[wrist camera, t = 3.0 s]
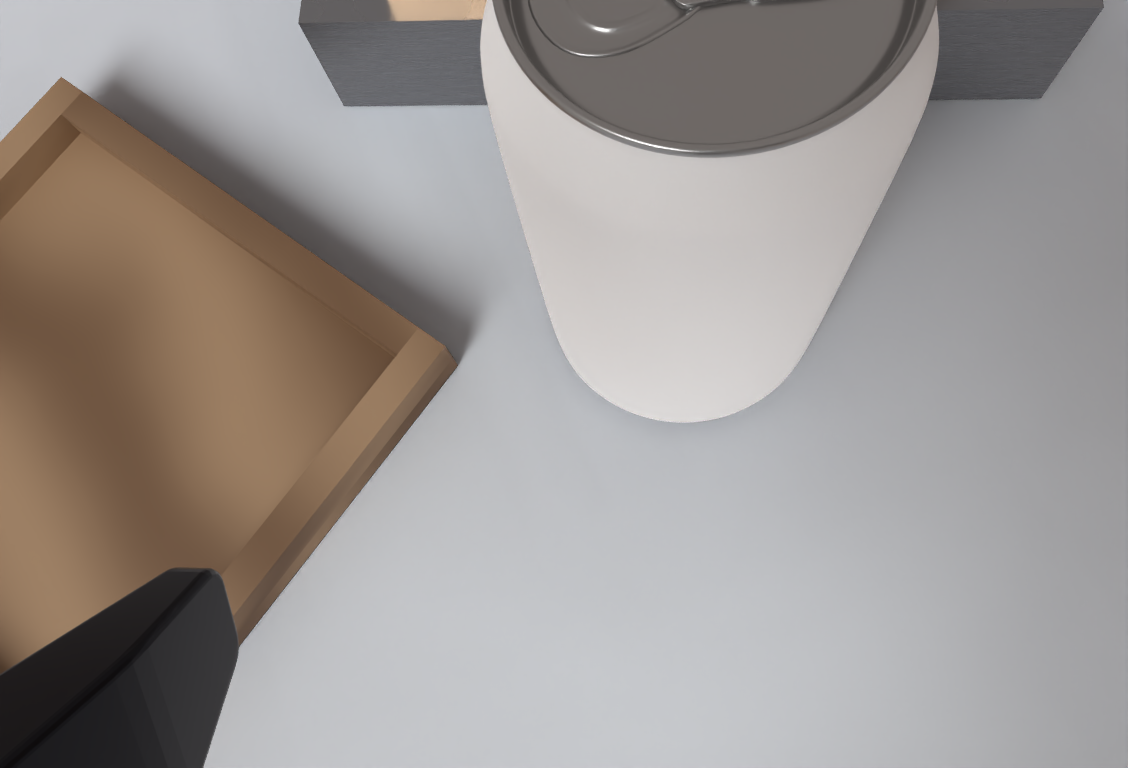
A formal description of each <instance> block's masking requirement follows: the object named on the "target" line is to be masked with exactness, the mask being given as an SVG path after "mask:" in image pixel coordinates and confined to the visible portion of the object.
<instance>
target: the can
mask: <svg viewBox="0 0 1128 768" xmlns="http://www.w3.org/2000/svg"><path fill="white" fill-rule="evenodd" d="M937 1H938V0H487V2H486V6H485V10H484V15H483V20H482V27H481V40H480V55H481V67H482V77H483V84H484V90H485V95H486V99H487V103H488V107H489V112H490V116H491V120H492V124H493V127H494V131H495V135H496V138H497V142H498V145H499V149H500V152H501V156H502V159H503V163H504V166H505V170H506V173H507V177H508V180H509V184H510V187H511V190H512V194H513V197H514V201H515V204H516V208H517V211H518V214H519V218H520V221H521V224H522V228H523V231H524V235H525V238H526V241H527V245H528V248H529V251H530V255H531V258H532V261H533V265H534V268H535V271H536V275H537V278H538V281H539V284H540V288H541V291H542V294H543V297H544V301H545V304H546V307H547V310H548V313H549V316H550V319H551V323H552V325H553V328H554V331H555V334H556V336H557V339H558V341H559V343H560V346H561V348H562V350H563V352H564V354H565V356H566V357H567V359H568V361H569V363H570V364H571V366H572V367H573V369H574V370H575V371H576V373H577V374H578V375H579V376H580V378H581V379H582V380H583V381H584V382H585V383H586V384H587V385H588V386H589V387H590V388H592V389H593V390H594V391H595V392H596V393H598V394H599V395H600V396H602V397H603V398H604V399H606V400H607V401H609V402H611V403H612V404H614V405H616V406H618V407H620V408H622V409H624V410H626V411H628V412H631V413H633V414H636V415H639V416H642V417H646V418H650V419H654V420H659V421H666V422H680V423H687V422H701V421H708V420H713V419H717V418H721V417H725V416H728V415H731V414H734V413H736V412H739V411H741V410H743V409H745V408H747V407H749V406H751V405H753V404H755V403H756V402H758V401H760V400H761V399H763V398H764V397H765V396H767V395H768V394H769V393H771V392H772V391H773V390H774V389H776V388H777V387H778V386H779V385H780V384H781V383H782V382H783V381H784V380H785V379H786V378H787V376H788V375H789V374H790V373H791V372H792V370H793V369H794V368H795V367H796V365H797V364H798V362H799V361H800V359H801V358H802V356H803V354H804V353H805V351H806V349H807V347H808V346H809V344H810V342H811V340H812V338H813V336H814V335H815V333H816V331H817V329H818V327H819V325H820V323H821V321H822V319H823V317H824V315H825V313H826V312H827V310H828V308H829V306H830V304H831V302H832V300H833V298H834V296H835V294H836V292H837V290H838V288H839V286H840V284H841V282H842V280H843V278H844V276H845V274H846V272H847V270H848V268H849V266H850V264H851V262H852V260H853V258H854V256H855V254H856V252H857V250H858V249H859V247H860V245H861V243H862V241H863V239H864V237H865V235H866V233H867V231H868V229H869V227H870V225H871V223H872V221H873V219H874V217H875V215H876V213H877V211H878V209H879V207H880V205H881V203H882V201H883V199H884V197H885V194H886V192H887V190H888V188H889V186H890V184H891V182H892V180H893V178H894V176H895V174H896V172H897V170H898V168H899V166H900V164H901V162H902V160H903V158H904V156H905V154H906V152H907V150H908V147H909V145H910V143H911V141H912V139H913V136H914V134H915V132H916V130H917V127H918V125H919V123H920V120H921V118H922V116H923V113H924V111H925V108H926V105H927V102H928V99H929V95H930V92H931V89H932V85H933V82H934V77H935V73H936V68H937V61H938V52H939V25H938V14H937V6H936V5H937Z"/></svg>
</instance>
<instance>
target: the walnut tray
mask: <svg viewBox="0 0 1128 768" xmlns="http://www.w3.org/2000/svg"><path fill="white" fill-rule="evenodd" d="M457 366H458V365H457V363H456V362H455V360H454V359H453V357H452V356H451V354H450V353H449V351H448V349H447V348H446V346H444V345H443V344H442V343H440V342H439V341H437V340H436V339H434V338H433V337H432V336H430V335H429V334H427V333H426V332H424V331H423V330H422V329H420V328H419V327H417V326H416V325H414V324H413V323H412V322H410V321H409V320H407V319H406V318H404V317H403V316H402V315H400V314H399V313H397V312H396V311H394V310H393V309H392V308H390V307H389V306H387V305H386V304H384V303H383V302H382V301H380V300H379V299H377V298H376V297H374V296H373V295H372V294H370V293H369V292H367V291H366V290H364V289H363V288H362V287H360V286H359V285H357V284H356V283H355V282H353V281H352V280H350V279H349V278H347V277H346V276H345V275H343V274H342V273H340V272H339V271H337V270H336V269H335V268H333V267H332V266H330V265H329V264H327V263H326V262H325V261H323V260H322V259H320V258H319V257H317V256H316V255H315V254H313V253H312V252H310V251H309V250H307V249H306V248H305V247H303V246H302V245H300V244H299V243H297V242H296V241H295V240H293V239H292V238H290V237H289V236H287V235H286V234H285V233H283V232H282V231H280V230H279V229H277V228H276V227H275V226H273V225H272V224H270V223H269V222H267V221H266V220H265V219H263V218H262V217H260V216H259V215H257V214H256V213H255V212H253V211H252V210H250V209H249V208H248V207H246V206H245V205H243V204H242V203H240V202H239V201H238V200H236V199H235V198H233V197H232V196H230V195H229V194H228V193H226V192H225V191H223V190H222V189H220V188H219V187H218V186H216V185H215V184H213V183H212V182H210V181H209V180H208V179H206V178H205V177H203V176H202V175H200V174H199V173H198V172H196V171H195V170H193V169H192V168H190V167H189V166H188V165H186V164H185V163H183V162H182V161H180V160H179V159H178V158H176V157H175V156H173V155H172V154H170V153H169V152H168V151H166V150H165V149H163V148H162V147H160V146H159V145H158V144H156V143H155V142H153V141H152V140H150V139H149V138H148V137H146V136H145V135H143V134H142V133H141V132H139V131H138V130H136V129H135V128H133V127H132V126H131V125H129V124H128V123H126V122H125V121H123V120H122V119H121V118H119V117H118V116H116V115H115V114H113V113H112V112H111V111H109V110H108V109H106V108H105V107H103V106H102V105H101V104H99V103H98V102H96V101H95V100H93V99H92V98H91V97H89V96H88V95H86V94H85V93H83V92H82V91H81V90H79V89H78V88H76V87H75V86H73V85H72V84H71V83H69V82H68V81H66V80H65V79H63V78H62V77H61V78H60V79H59V80H58V81H57V82H56V83H55V84H54V85H53V86H52V87H51V88H50V90H49V91H48V92H47V93H46V94H45V95H44V96H43V97H42V98H41V99H40V100H39V101H38V102H37V103H36V104H35V106H34V107H33V108H32V109H31V110H30V111H29V112H28V113H27V114H26V115H25V116H24V117H23V118H22V119H21V121H20V122H19V123H18V124H17V125H16V126H15V127H14V128H13V129H12V130H11V131H10V132H9V133H8V134H7V135H6V137H5V138H4V139H3V140H2V141H1V142H0V674H1V673H3V672H4V671H6V670H7V669H9V668H11V667H12V666H14V665H15V664H17V663H19V662H20V661H22V660H23V659H25V658H27V657H28V656H30V655H31V654H33V653H35V652H36V651H38V650H40V649H41V648H43V647H44V646H46V645H48V644H49V643H51V642H52V641H54V640H56V639H57V638H59V637H60V636H62V635H64V634H65V633H67V632H68V631H70V630H72V629H73V628H75V627H76V626H78V625H80V624H81V623H83V622H84V621H86V620H88V619H89V618H91V617H92V616H94V615H96V614H97V613H99V612H100V611H102V610H104V609H105V608H107V607H109V606H110V605H112V604H113V603H115V602H117V601H118V600H120V599H121V598H123V597H125V596H126V595H128V594H129V593H131V592H133V591H134V590H136V589H137V588H139V587H141V586H142V585H144V584H145V583H147V582H149V581H150V580H152V579H153V578H155V577H157V576H158V575H160V574H161V573H163V572H165V571H167V570H168V569H171V568H176V567H195V568H212V569H214V570H216V571H217V572H218V573H219V574H220V575H221V577H222V579H223V582H224V585H225V588H226V592H227V596H228V600H229V603H230V607H231V611H232V615H233V619H234V622H235V626H236V630H237V634H238V641H239V646H240V644H241V643H242V642H243V641H244V639H245V638H246V637H247V635H248V634H249V633H250V632H251V630H252V629H253V628H254V626H255V625H256V624H257V623H258V621H259V620H260V619H261V618H262V616H263V615H264V614H265V612H266V611H267V610H268V609H269V607H270V606H271V605H272V603H273V602H274V601H275V600H276V598H277V597H278V596H279V594H280V593H281V592H282V591H283V589H284V588H285V587H286V585H287V584H288V583H289V582H290V580H291V579H292V578H293V576H294V575H295V574H296V573H297V571H298V570H299V569H300V567H301V566H302V565H303V564H304V562H305V561H306V560H307V559H308V557H309V556H310V555H311V553H312V552H313V551H314V550H315V548H316V547H317V546H318V544H319V543H320V542H321V541H322V539H323V538H324V537H325V535H326V534H327V533H328V532H329V530H330V529H331V528H332V526H333V525H334V524H335V523H336V521H337V520H338V519H339V517H340V516H341V515H342V514H343V512H344V511H345V510H346V508H347V507H348V506H349V505H350V503H351V502H352V501H353V499H354V498H355V497H356V496H357V494H358V493H359V492H360V491H361V489H362V488H363V487H364V485H365V484H366V483H367V482H368V480H369V479H370V478H371V476H372V475H373V474H374V473H375V471H376V470H377V469H378V467H379V466H380V465H381V464H382V462H383V461H384V460H385V458H386V457H387V456H388V455H389V453H390V452H391V451H392V449H393V448H394V447H395V446H396V444H397V443H398V442H399V440H400V439H401V438H402V437H403V435H404V434H405V433H406V432H407V430H408V429H409V428H410V426H411V425H412V424H413V423H414V421H415V420H416V419H417V417H418V416H419V415H420V414H421V412H422V411H423V410H424V408H425V407H426V406H427V405H428V403H429V402H430V401H431V399H432V398H433V397H434V396H435V394H436V393H437V392H438V390H439V389H440V388H441V387H442V385H443V384H444V383H445V381H446V380H447V379H448V378H449V376H450V375H451V374H452V373H453V371H454V370H455V369H456V367H457Z"/></svg>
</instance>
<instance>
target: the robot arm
mask: <svg viewBox="0 0 1128 768" xmlns="http://www.w3.org/2000/svg"><path fill="white" fill-rule="evenodd" d="M238 650H239V641H238V634H237V630H236V626H235V622H234V619H233V615H232V611H231V607H230V603H229V600H228V596H227V592H226V588H225V585H224V582H223V579H222V577H221V575H220V574H219V573H218V572H217V571H216V570H214V569H212V568H195V567H176V568H171V569H168V570H167V571H165V572H163V573H161V574H160V575H158V576H157V577H155V578H153V579H152V580H150V581H149V582H147V583H145V584H144V585H142V586H141V587H139V588H137V589H136V590H134V591H133V592H131V593H129V594H128V595H126V596H125V597H123V598H121V599H120V600H118V601H117V602H115V603H113V604H112V605H110V606H109V607H107V608H105V609H104V610H102V611H100V612H99V613H97V614H96V615H94V616H92V617H91V618H89V619H88V620H86V621H84V622H83V623H81V624H80V625H78V626H76V627H75V628H73V629H72V630H70V631H68V632H67V633H65V634H64V635H62V636H60V637H59V638H57V639H56V640H54V641H52V642H51V643H49V644H48V645H46V646H44V647H43V648H41V649H40V650H38V651H36V652H35V653H33V654H31V655H30V656H28V657H27V658H25V659H23V660H22V661H20V662H19V663H17V664H15V665H14V666H12V667H11V668H9V669H7V670H6V671H4V672H3V673H1V674H0V768H203V766H204V763H205V760H206V757H207V754H208V751H209V748H210V744H211V741H212V738H213V735H214V732H215V729H216V726H217V723H218V719H219V716H220V713H221V710H222V707H223V704H224V701H225V697H226V694H227V691H228V688H229V685H230V682H231V679H232V676H233V672H234V669H235V666H236V662H237V658H238Z"/></svg>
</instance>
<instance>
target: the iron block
mask: <svg viewBox="0 0 1128 768" xmlns="http://www.w3.org/2000/svg"><path fill="white" fill-rule="evenodd" d="M486 2H487V0H302V1H301V8H300V16H299V25H300V27H301V29H302V30H303V32H304V34H305V36H306V38H307V40H308V41H309V43H310V45H311V47H312V49H313V50H314V52H315V54H316V56H317V58H318V59H319V61H320V63H321V65H322V67H323V69H324V70H325V72H326V74H327V76H328V78H329V79H330V81H331V83H332V85H333V87H334V89H335V90H336V92H337V94H338V96H339V98H340V99H341V101H342V103H343V105H344V106H402V105H488V103H487V99H486V95H485V90H484V84H483V77H482V67H481V55H480V40H481V27H482V20H483V15H484V10H485V6H486ZM936 6H937V14H938V25H939V52H938V61H937V68H936V73H935V77H934V82H933V85H932V89H931V92H930V95H929V99H928V100H938V99H1028V98H1041V97H1042V95H1043V94H1044V93H1045V91H1046V90H1047V88H1048V87H1049V85H1050V84H1051V83H1052V81H1053V80H1054V78H1055V77H1056V75H1057V74H1058V72H1059V71H1060V70H1061V68H1062V67H1063V65H1064V64H1065V62H1066V61H1067V60H1068V58H1069V57H1070V55H1071V54H1072V52H1073V51H1074V49H1075V48H1076V47H1077V45H1078V44H1079V42H1080V41H1081V39H1082V38H1083V36H1084V35H1085V34H1086V32H1087V31H1088V29H1089V28H1090V26H1091V25H1092V24H1093V22H1094V21H1095V19H1096V18H1097V16H1098V15H1099V13H1100V12H1101V11H1102V9H1103V8H1104V5H1103V0H938V1H937V5H936Z"/></svg>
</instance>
